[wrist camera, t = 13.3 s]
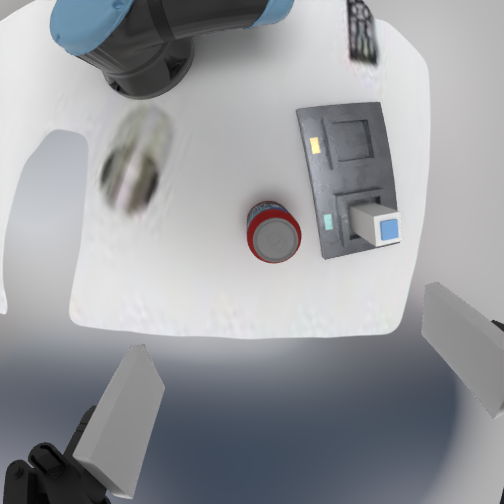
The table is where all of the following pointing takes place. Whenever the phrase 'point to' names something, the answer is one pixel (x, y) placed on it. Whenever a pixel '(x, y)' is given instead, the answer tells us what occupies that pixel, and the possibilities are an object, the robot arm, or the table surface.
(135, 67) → the robot arm
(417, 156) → the table surface
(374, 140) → the grey socket board
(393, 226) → the plug
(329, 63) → the table surface
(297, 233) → the beverage can
